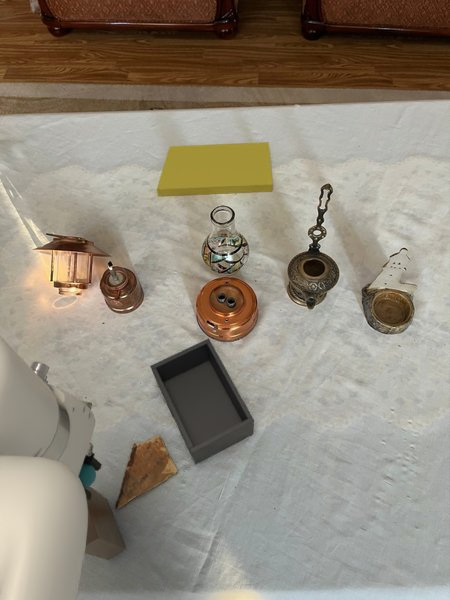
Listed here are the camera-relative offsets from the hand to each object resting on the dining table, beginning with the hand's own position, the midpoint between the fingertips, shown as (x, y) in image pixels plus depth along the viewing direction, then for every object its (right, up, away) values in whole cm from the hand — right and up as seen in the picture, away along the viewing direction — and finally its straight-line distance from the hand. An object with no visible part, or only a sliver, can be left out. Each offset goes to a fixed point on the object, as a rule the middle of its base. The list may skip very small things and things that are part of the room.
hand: (82, 478), depth 55 cm
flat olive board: (+13, +46, +58) cm, 75 cm away
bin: (+11, +1, +32) cm, 34 cm away
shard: (+3, -9, +27) cm, 29 cm away
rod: (-4, +2, -1) cm, 4 cm away
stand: (-3, -15, +24) cm, 28 cm away
